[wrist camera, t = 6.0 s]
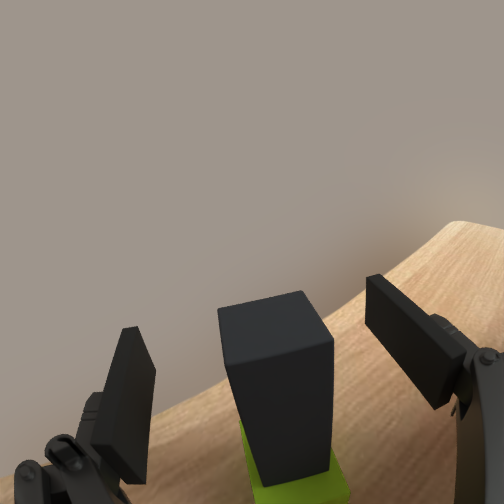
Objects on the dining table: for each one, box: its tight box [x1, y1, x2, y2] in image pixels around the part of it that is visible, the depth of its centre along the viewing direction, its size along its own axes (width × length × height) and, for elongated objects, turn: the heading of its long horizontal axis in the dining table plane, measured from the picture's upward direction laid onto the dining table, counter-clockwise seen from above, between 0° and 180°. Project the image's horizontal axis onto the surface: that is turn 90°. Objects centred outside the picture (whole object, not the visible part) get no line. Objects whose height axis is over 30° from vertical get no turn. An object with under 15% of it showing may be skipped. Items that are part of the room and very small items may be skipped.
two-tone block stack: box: [217, 291, 351, 504], centre depth 11 cm, size 6×4×11 cm, turn 9°
